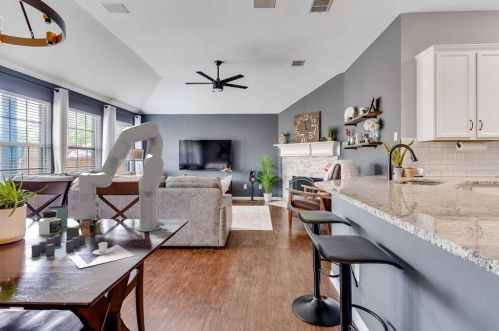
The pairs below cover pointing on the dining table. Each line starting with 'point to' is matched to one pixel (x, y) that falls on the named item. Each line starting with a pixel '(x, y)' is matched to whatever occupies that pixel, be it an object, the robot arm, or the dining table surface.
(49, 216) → the medicine bottle
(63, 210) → the grey cup
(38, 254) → the board
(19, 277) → the dining table surface
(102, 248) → the teacup and saucer
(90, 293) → the dining table surface
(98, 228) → the wooden toy mallet
